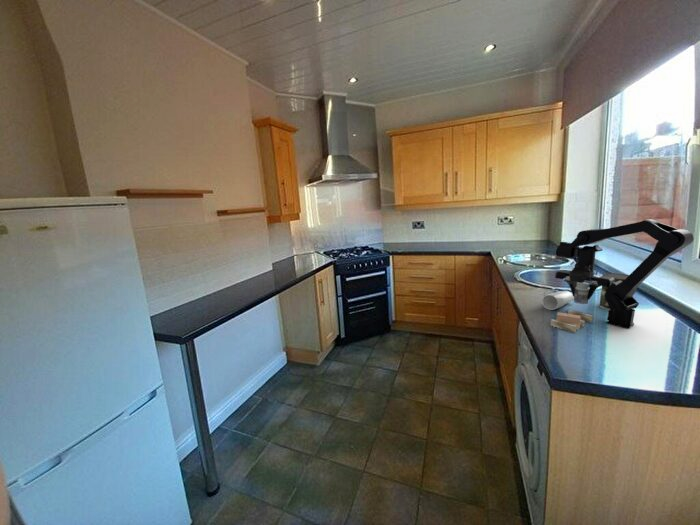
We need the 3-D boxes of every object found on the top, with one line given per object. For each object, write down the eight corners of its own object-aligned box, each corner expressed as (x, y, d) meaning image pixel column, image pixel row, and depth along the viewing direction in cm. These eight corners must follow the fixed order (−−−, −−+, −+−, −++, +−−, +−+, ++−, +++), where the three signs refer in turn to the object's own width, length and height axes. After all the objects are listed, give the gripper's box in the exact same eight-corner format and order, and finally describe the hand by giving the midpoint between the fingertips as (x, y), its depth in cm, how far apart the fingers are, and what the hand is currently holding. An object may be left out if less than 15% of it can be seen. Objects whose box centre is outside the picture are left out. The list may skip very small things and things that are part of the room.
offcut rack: (592, 321, 118) (593, 315, 117) (574, 333, 109) (575, 326, 109) (569, 315, 124) (569, 309, 124) (550, 326, 116) (551, 319, 115)
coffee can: (634, 313, 123) (639, 280, 120) (601, 310, 128) (606, 278, 125) (626, 305, 132) (630, 274, 129) (596, 302, 137) (600, 272, 134)
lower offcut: (579, 329, 113) (580, 322, 112) (577, 331, 111) (577, 325, 110) (558, 323, 118) (558, 317, 118) (555, 325, 116) (555, 319, 116)
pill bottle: (574, 299, 129) (576, 280, 128) (588, 301, 126) (590, 282, 125) (573, 303, 126) (575, 283, 124) (587, 305, 123) (590, 285, 121)
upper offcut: (579, 321, 113) (580, 315, 112) (579, 324, 111) (580, 318, 110) (556, 318, 117) (557, 312, 117) (556, 321, 115) (557, 314, 114)
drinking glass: (572, 306, 137) (555, 312, 129) (557, 299, 142) (539, 305, 134) (578, 292, 134) (560, 298, 127) (561, 286, 140) (544, 291, 132)
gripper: (550, 260, 126) (547, 296, 129) (606, 268, 111) (601, 308, 114) (562, 256, 132) (559, 291, 135) (617, 263, 117) (612, 301, 120)
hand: (581, 297), depth 126 cm, fingers closed on pill bottle, 5 cm apart
